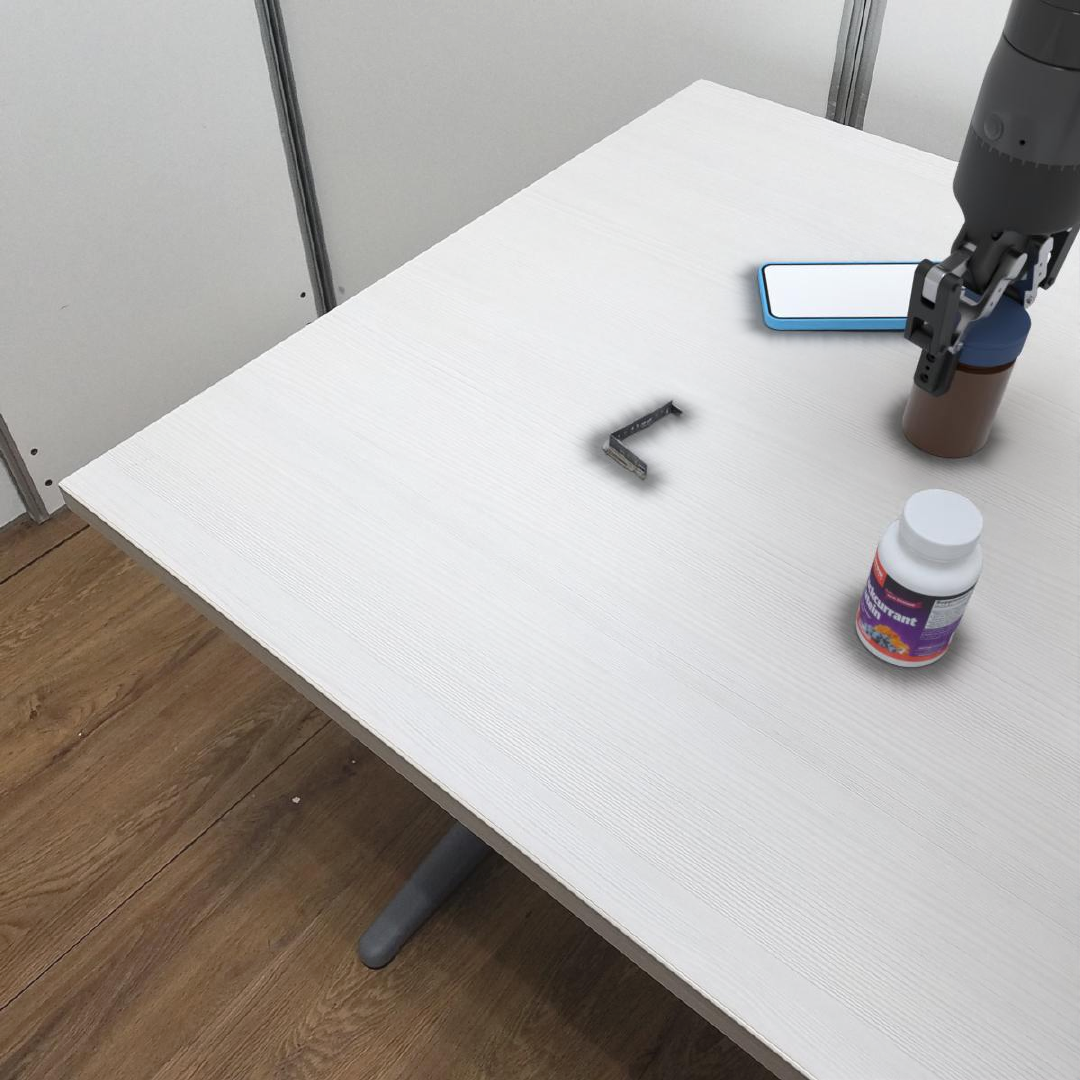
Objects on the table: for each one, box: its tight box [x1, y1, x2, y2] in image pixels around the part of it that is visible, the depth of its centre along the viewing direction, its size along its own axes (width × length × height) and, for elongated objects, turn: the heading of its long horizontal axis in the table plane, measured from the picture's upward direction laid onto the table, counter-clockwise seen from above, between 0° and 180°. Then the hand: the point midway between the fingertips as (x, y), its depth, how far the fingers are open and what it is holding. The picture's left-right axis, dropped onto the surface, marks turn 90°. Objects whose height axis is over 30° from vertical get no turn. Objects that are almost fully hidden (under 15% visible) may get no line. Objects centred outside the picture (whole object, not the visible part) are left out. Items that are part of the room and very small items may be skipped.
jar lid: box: [953, 287, 1032, 367], centre depth 71 cm, size 6×6×2 cm
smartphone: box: [757, 260, 943, 331], centre depth 87 cm, size 8×1×15 cm
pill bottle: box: [855, 488, 984, 668], centre depth 62 cm, size 5×5×10 cm
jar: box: [901, 357, 1018, 459], centre depth 75 cm, size 6×6×8 cm
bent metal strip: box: [602, 399, 684, 480], centre depth 77 cm, size 7×1×5 cm
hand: (960, 368), depth 74 cm, fingers closed on jar, jar lid, 5 cm apart
